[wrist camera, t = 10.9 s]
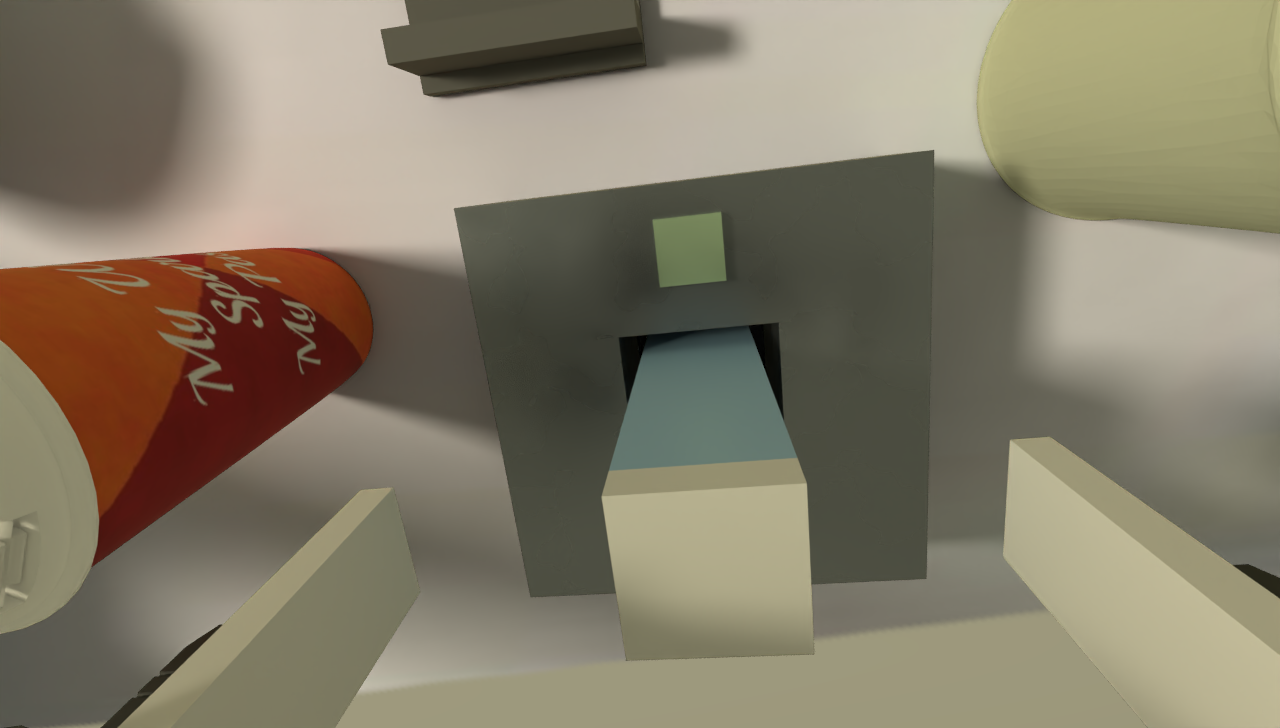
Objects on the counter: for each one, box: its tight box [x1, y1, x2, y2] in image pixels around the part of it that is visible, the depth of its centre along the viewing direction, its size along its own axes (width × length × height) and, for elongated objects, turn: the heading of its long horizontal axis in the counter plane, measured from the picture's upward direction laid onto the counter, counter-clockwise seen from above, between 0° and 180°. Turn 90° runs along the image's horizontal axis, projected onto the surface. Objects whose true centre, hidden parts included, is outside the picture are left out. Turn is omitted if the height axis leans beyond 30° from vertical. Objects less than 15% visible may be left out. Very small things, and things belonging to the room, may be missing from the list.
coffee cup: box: [0, 248, 373, 634], centre depth 18 cm, size 8×8×15 cm
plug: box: [602, 325, 814, 661], centre depth 18 cm, size 4×4×14 cm
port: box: [454, 150, 934, 597], centre depth 22 cm, size 14×14×5 cm
